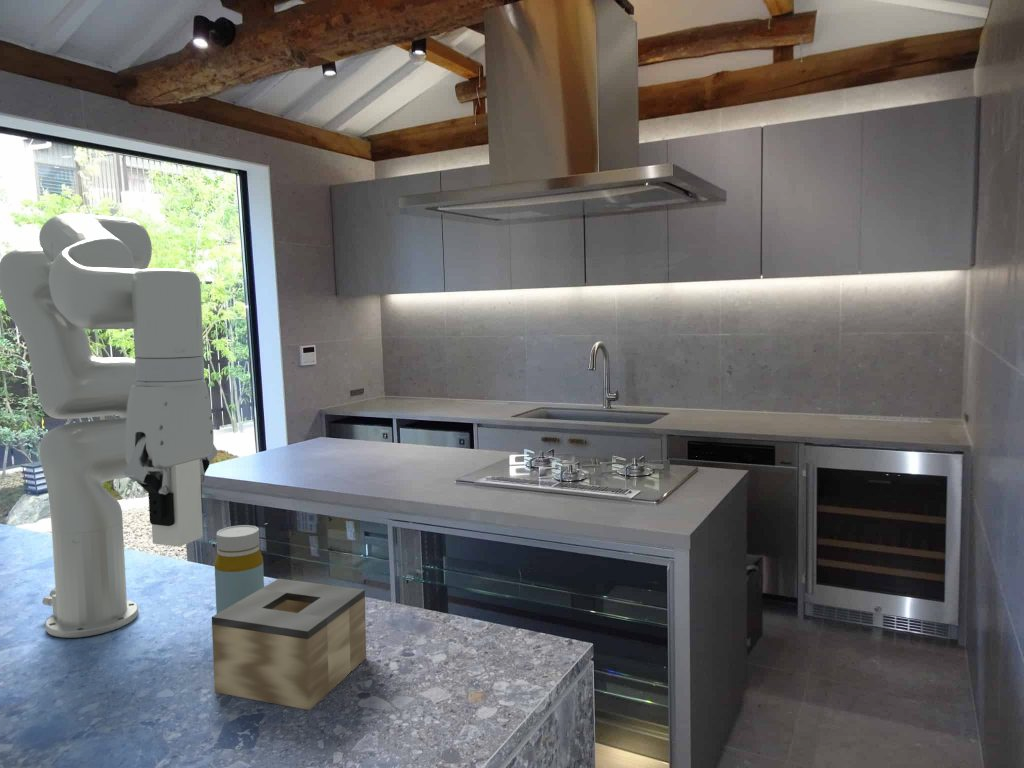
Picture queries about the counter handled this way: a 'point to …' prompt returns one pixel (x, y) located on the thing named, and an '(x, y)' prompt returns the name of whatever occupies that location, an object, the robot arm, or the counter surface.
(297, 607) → the socket
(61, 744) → the counter surface
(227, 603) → the bottle
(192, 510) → the peg
